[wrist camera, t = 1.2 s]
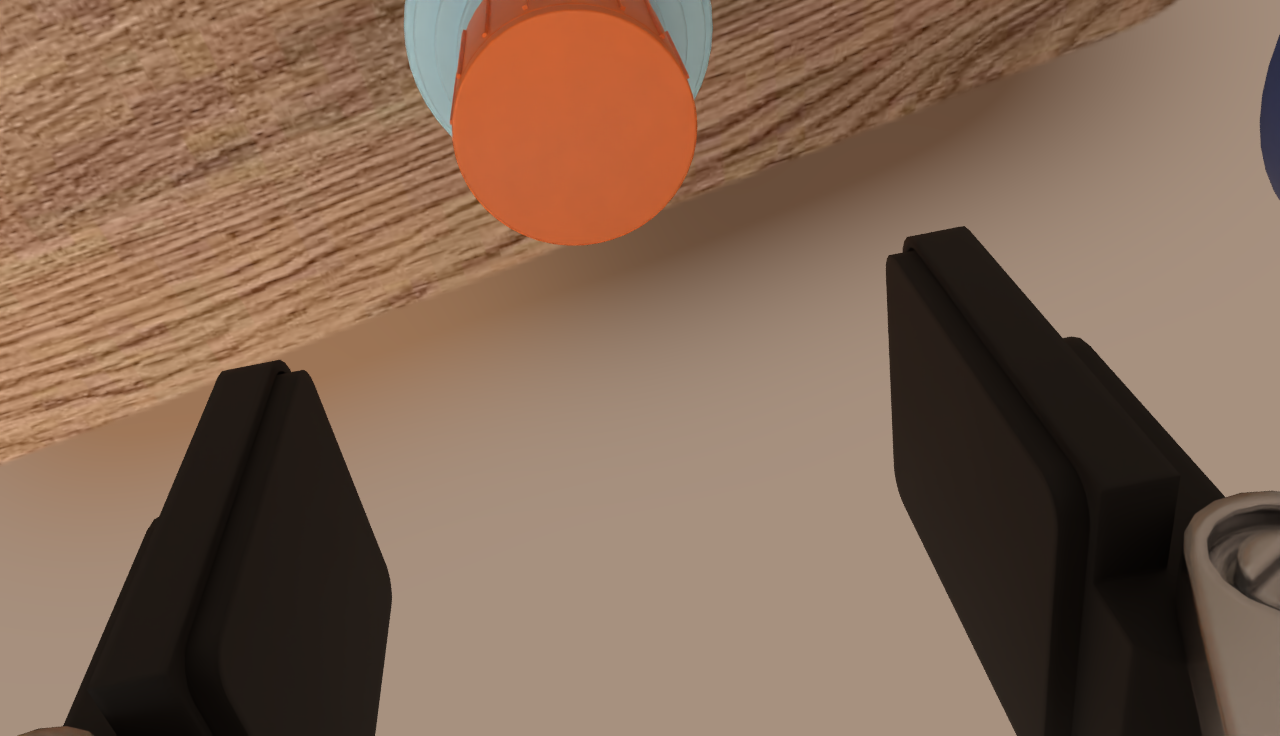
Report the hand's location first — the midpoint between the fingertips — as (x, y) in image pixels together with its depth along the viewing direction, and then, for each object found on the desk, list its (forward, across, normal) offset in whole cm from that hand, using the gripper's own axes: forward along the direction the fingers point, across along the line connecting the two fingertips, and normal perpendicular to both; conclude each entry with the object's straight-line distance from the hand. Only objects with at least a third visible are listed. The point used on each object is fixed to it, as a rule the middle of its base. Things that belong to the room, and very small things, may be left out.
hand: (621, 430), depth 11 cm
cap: (+12, 0, 0) cm, 12 cm away
